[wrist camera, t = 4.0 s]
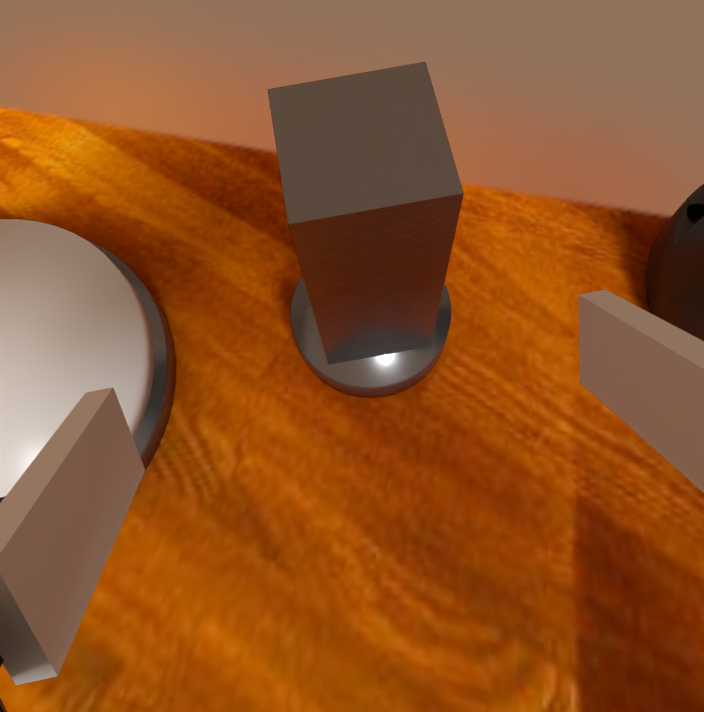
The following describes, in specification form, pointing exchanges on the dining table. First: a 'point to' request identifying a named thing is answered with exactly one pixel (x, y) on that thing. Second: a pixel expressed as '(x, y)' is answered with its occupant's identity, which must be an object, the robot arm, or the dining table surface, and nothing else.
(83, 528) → the robot arm
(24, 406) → the turntable platter
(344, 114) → the square post on disc
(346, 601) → the dining table surface
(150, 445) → the base
